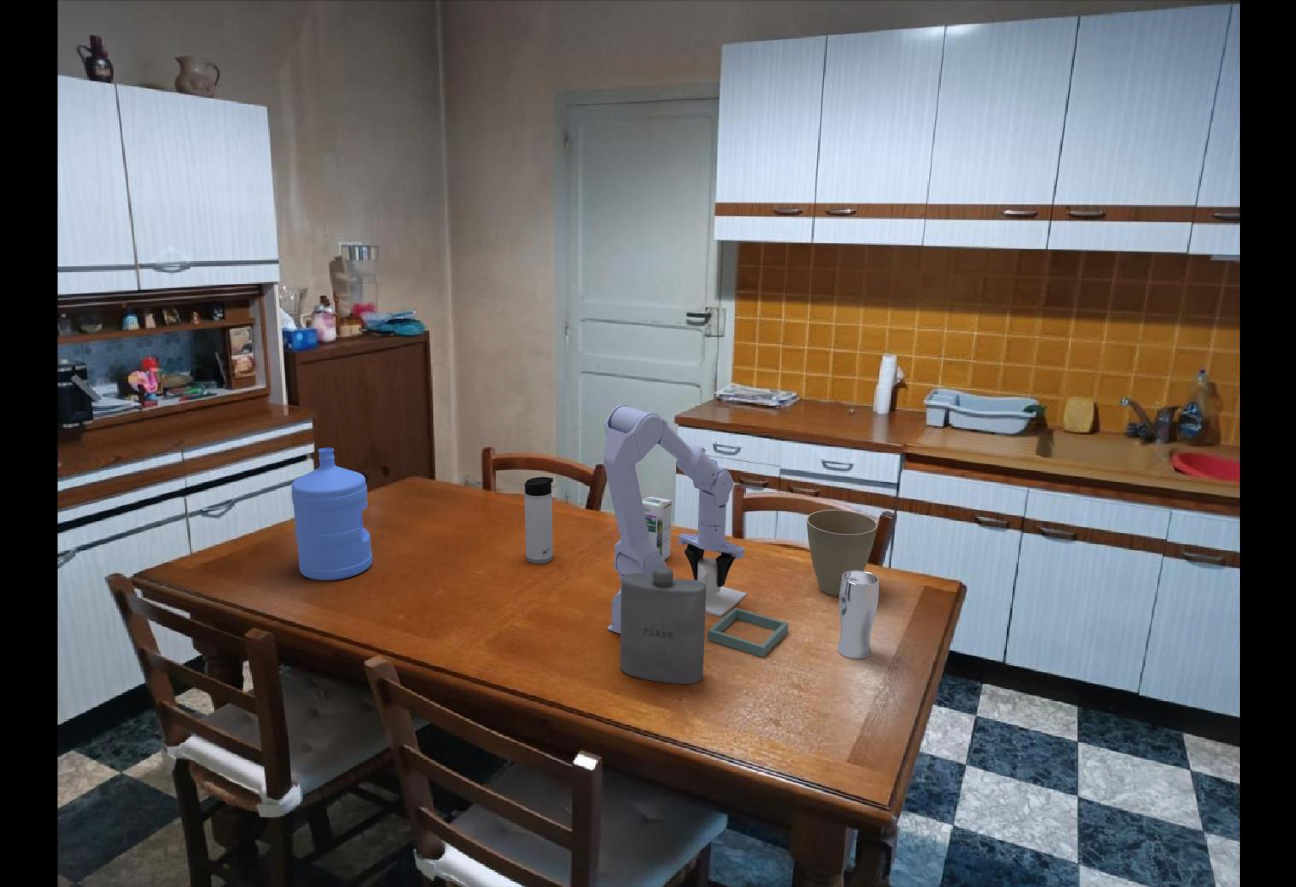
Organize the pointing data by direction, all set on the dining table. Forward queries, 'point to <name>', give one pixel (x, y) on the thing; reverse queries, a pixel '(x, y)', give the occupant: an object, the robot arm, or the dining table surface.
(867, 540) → the plant pot
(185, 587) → the dining table surface
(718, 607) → the mat
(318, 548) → the water jug
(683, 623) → the flask
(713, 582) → the jug
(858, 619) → the beer glass
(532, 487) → the travel mug
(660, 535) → the syrup box
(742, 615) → the holder
